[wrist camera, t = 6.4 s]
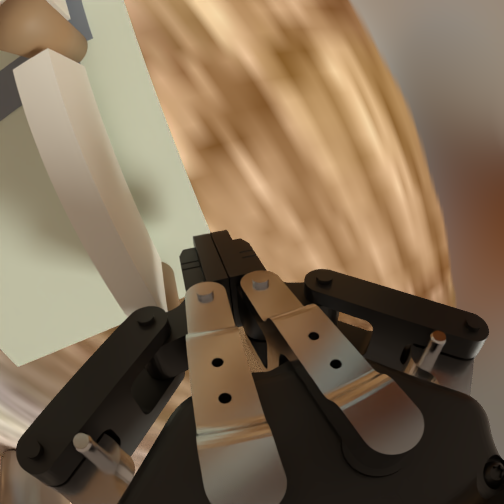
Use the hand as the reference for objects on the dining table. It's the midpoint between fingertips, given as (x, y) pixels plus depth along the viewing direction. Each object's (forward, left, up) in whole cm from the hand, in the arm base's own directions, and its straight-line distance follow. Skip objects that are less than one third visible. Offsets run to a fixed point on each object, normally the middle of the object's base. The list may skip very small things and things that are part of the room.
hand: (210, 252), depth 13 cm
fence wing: (-3, +4, -2) cm, 5 cm away
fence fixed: (-3, +17, -3) cm, 18 cm away
